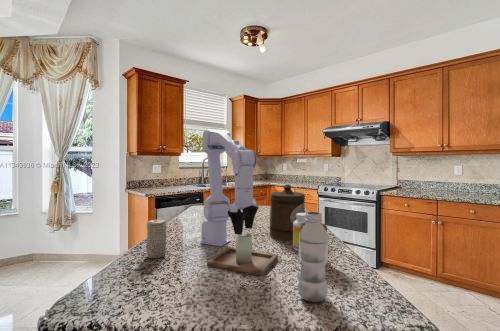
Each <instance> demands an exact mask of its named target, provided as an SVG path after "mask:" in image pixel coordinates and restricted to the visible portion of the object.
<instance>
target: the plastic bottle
mask: <svg viewBox="0 0 500 331" xmlns="http://www.w3.org/2000/svg"><path fill="white" fill-rule="evenodd" d="M305 221H306V224H305V225H304V227H303V228H302V229H301V231H300V234H299V239H300V247H301V258H302V259H301V263H300V266H301V267H300V273H299V277H298V278H299V279H298V285H297V288H298V289H297V290H298V294H299V295H300V297H301V298H302V299H303V300H305V301H307V302H310V303H321V302H323V301H324V300H325V299H326V297H327V294H328V282H327V277H326V265H325V259H326V250H327V244H328V245H329V233H328V231H327V232H326V230H325V228H324V227H323V226H322V224H323V223H322V222H323V216H322V212H317V211H305ZM321 223H322V224H321ZM327 233H328V234H327Z"/></svg>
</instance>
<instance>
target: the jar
mask: <svg viewBox="0 0 500 331" xmlns="http://www.w3.org/2000/svg"><path fill="white" fill-rule="evenodd" d="M305 224H306V222H305V223H302V224H301V225H300V231H301V229H302V228H303V227H304V225H305ZM321 224H322V226H323V227H324V228H325V230H326V232H327V234H328V235H329V233H328V225H326V224H324V223H322V222H321ZM299 234H300V233H299ZM328 252H329V243H328V244H327V250H326V259H325V266H326V265H327V264H328V263H329V253H328ZM301 259H302V258H301V247H300V239H299V251H298V263H300V264H301Z"/></svg>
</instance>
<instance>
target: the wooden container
mask: <svg viewBox="0 0 500 331" xmlns="http://www.w3.org/2000/svg"><path fill="white" fill-rule="evenodd" d="M282 188H283V190H282V191H273V192H271V193H270V196H269V197H270V199H269V200H270V203H269V205H270V209H269V236H270V237H271V238H273V239H275V240H279V241H280V240H281V241H290V240H291V241H293V223H294V221H295V220H296V219H297V218H296V214H297V213H306V210H305V207H306V206H305V204H306V203H305V201H306V200H305V199H306V194H305V193H304V192H297V191H293V190H292V185H290V184H284V185H283V187H282Z"/></svg>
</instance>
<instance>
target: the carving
mask: <svg viewBox="0 0 500 331" xmlns="http://www.w3.org/2000/svg"><path fill="white" fill-rule="evenodd" d="M167 229H168V228H167V222H166V220H165V219H163V218H160V219H159V218H158V219H152V220H148V221H147V223H146V231H147V232H146V237H147V238H146V241H147V242H146V249H145V250H146V255H147V257H148V258H149V259H151V260H152V259H153V260H154V259H159V258H162V257H163V256H164V255H165V254H166V253H167Z"/></svg>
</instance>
